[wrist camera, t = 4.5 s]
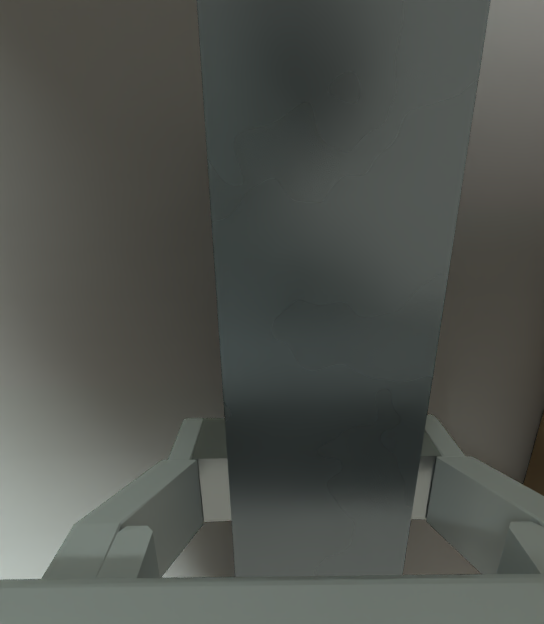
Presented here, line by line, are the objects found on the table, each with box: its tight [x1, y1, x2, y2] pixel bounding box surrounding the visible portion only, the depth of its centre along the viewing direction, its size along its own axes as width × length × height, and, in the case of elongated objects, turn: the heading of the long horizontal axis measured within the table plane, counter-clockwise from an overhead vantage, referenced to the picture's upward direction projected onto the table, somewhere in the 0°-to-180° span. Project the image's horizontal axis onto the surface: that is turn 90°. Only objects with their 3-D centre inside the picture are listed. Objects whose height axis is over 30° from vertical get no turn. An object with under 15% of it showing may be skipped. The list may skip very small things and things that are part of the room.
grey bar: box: [197, 0, 490, 577], centre depth 10 cm, size 21×6×4 cm, turn 1°
